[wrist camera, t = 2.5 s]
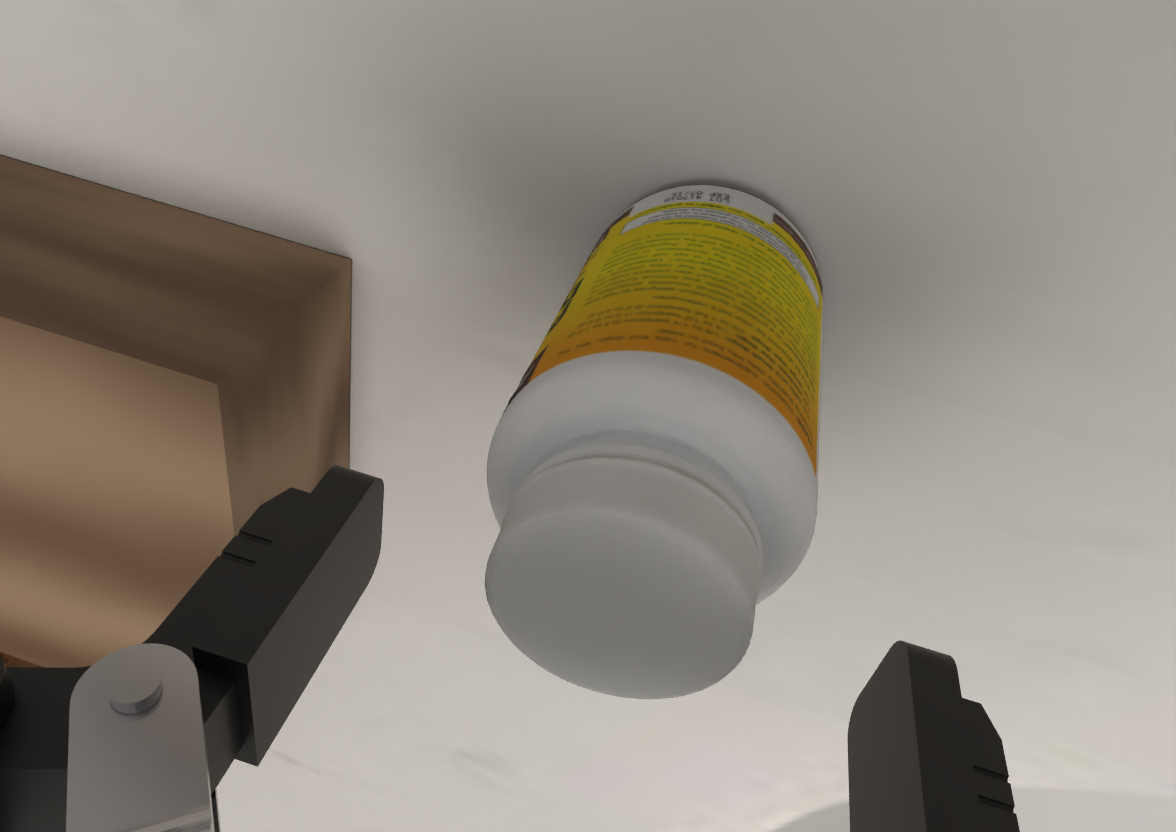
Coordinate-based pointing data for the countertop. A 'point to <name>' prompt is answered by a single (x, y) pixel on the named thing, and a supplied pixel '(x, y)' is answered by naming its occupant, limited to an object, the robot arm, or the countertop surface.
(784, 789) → the countertop surface
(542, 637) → the supplement bottle
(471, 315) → the countertop surface
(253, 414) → the walnut riser
